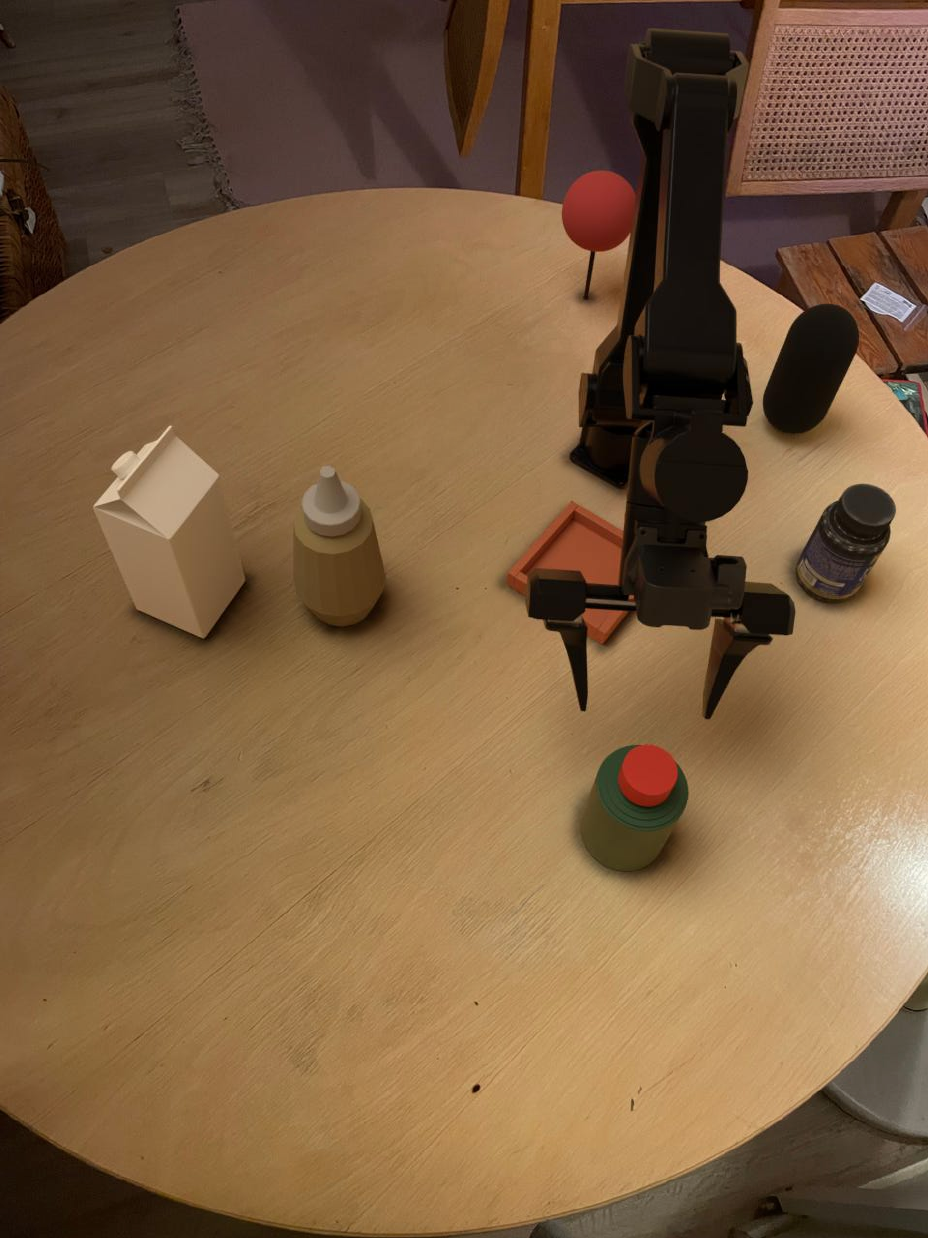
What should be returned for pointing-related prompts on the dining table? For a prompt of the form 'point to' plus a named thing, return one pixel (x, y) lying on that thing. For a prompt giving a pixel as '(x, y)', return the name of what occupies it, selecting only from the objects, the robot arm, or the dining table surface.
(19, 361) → the dining table surface
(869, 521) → the pill bottle
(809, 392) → the decorative object
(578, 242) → the lollipop
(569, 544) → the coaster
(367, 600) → the squeeze bottle
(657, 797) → the cap
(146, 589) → the milk carton
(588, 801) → the bottle
